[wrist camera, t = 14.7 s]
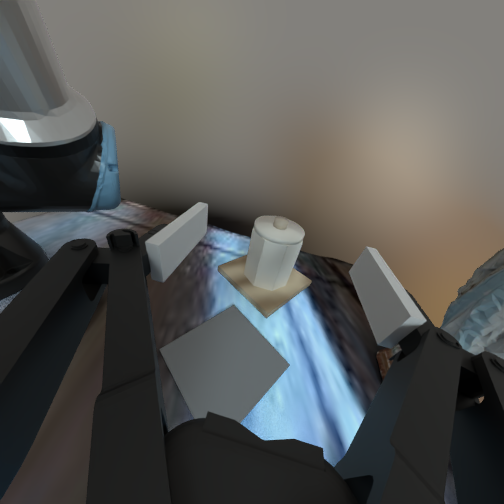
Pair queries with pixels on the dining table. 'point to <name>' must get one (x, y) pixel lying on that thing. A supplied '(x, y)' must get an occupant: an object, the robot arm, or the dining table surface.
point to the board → (258, 296)
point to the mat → (223, 366)
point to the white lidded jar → (273, 251)
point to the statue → (472, 314)
